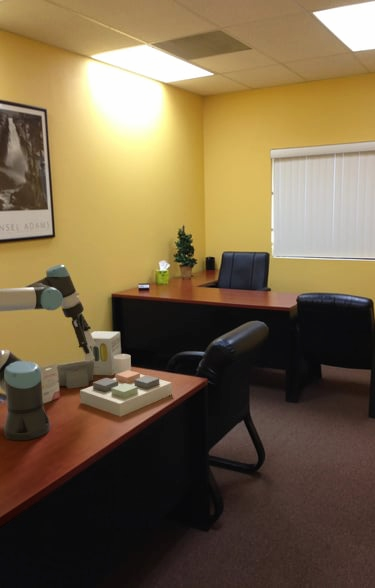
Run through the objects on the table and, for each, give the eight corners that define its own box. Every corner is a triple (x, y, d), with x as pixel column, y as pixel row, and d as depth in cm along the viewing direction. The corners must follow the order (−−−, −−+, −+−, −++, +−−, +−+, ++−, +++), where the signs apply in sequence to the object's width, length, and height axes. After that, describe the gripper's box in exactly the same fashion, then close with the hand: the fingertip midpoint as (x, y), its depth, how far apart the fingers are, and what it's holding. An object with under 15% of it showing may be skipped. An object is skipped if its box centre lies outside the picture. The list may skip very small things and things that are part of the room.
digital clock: (94, 379, 230) (93, 356, 228) (96, 386, 221) (94, 362, 219) (57, 383, 226) (55, 360, 224) (56, 390, 217) (55, 366, 216)
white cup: (125, 374, 236) (124, 352, 235) (135, 378, 230) (134, 356, 229) (110, 378, 232) (109, 356, 230) (120, 382, 226) (118, 360, 224)
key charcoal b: (147, 395, 202) (146, 383, 201) (134, 391, 206) (134, 379, 206) (159, 390, 207) (159, 378, 206) (147, 386, 212) (146, 375, 211)
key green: (124, 404, 193) (124, 392, 192) (112, 400, 197) (111, 388, 197) (138, 399, 198) (137, 386, 197) (125, 395, 203) (125, 383, 202)
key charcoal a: (105, 398, 200) (104, 386, 199) (93, 394, 204) (92, 382, 204) (118, 393, 205) (118, 381, 204) (107, 389, 210) (106, 377, 209)
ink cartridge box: (52, 395, 212) (49, 360, 210) (60, 397, 209) (57, 362, 207) (34, 401, 205) (32, 365, 203) (42, 404, 202) (40, 368, 200)
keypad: (120, 416, 188) (119, 403, 188) (80, 402, 203) (80, 390, 202) (172, 394, 209) (171, 382, 208) (132, 383, 224) (132, 371, 223)
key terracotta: (128, 389, 209) (127, 377, 208) (116, 386, 213) (115, 374, 213) (140, 384, 214) (139, 373, 213) (128, 381, 219) (128, 370, 218)
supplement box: (85, 374, 237) (83, 337, 234) (96, 365, 250) (94, 330, 247) (112, 375, 234) (110, 338, 231) (122, 367, 247) (120, 331, 244)
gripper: (78, 312, 183) (100, 362, 191) (81, 290, 207) (101, 336, 214) (58, 319, 183) (81, 369, 190) (64, 297, 207) (83, 342, 214)
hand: (91, 352), depth 202 cm, fingers open, 13 cm apart
